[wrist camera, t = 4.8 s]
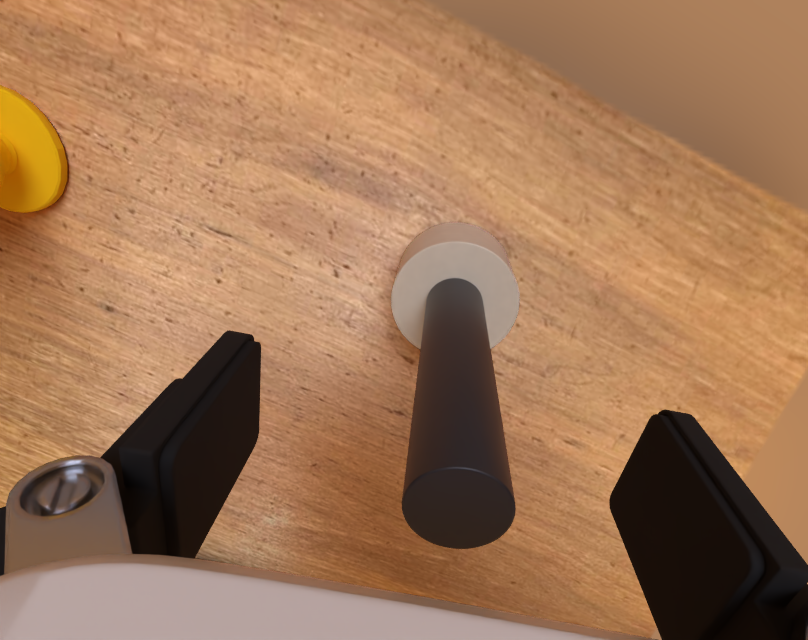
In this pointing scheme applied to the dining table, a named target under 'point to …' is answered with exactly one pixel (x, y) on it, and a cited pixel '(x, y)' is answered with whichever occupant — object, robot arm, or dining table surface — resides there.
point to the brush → (456, 384)
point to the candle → (28, 156)
